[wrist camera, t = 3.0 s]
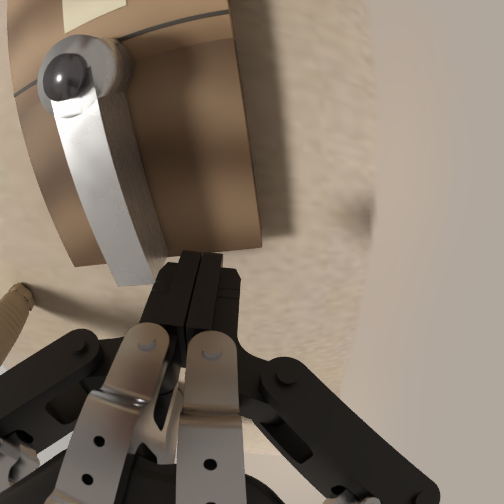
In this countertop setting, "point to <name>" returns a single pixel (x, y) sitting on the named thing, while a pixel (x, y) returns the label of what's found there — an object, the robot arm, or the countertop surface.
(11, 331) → the handle
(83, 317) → the countertop surface
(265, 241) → the countertop surface
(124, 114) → the latch bar
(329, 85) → the countertop surface
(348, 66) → the countertop surface
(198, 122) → the board
